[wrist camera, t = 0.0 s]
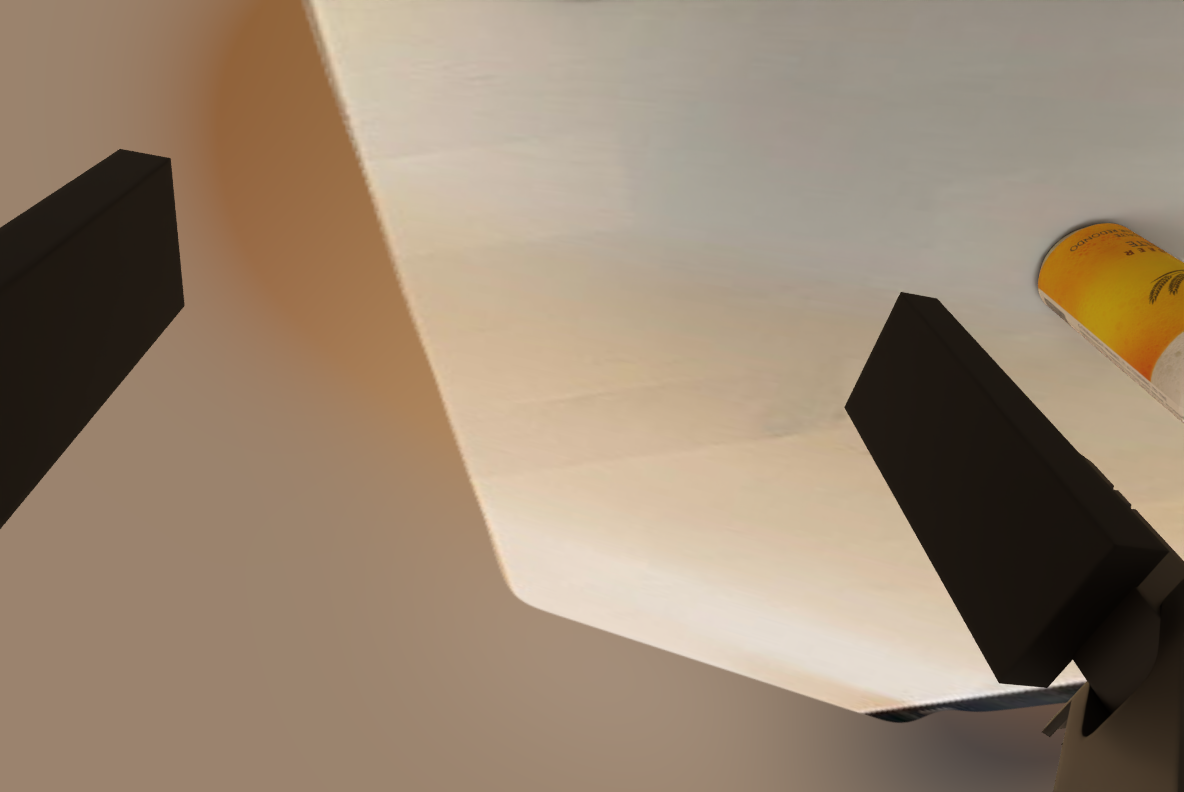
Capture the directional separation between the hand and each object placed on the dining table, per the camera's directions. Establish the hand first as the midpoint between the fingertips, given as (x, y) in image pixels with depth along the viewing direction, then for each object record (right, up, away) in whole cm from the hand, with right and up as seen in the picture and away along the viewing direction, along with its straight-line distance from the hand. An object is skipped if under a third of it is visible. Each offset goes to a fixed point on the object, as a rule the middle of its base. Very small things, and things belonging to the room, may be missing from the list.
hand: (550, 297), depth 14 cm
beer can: (+32, +7, +34) cm, 47 cm away
